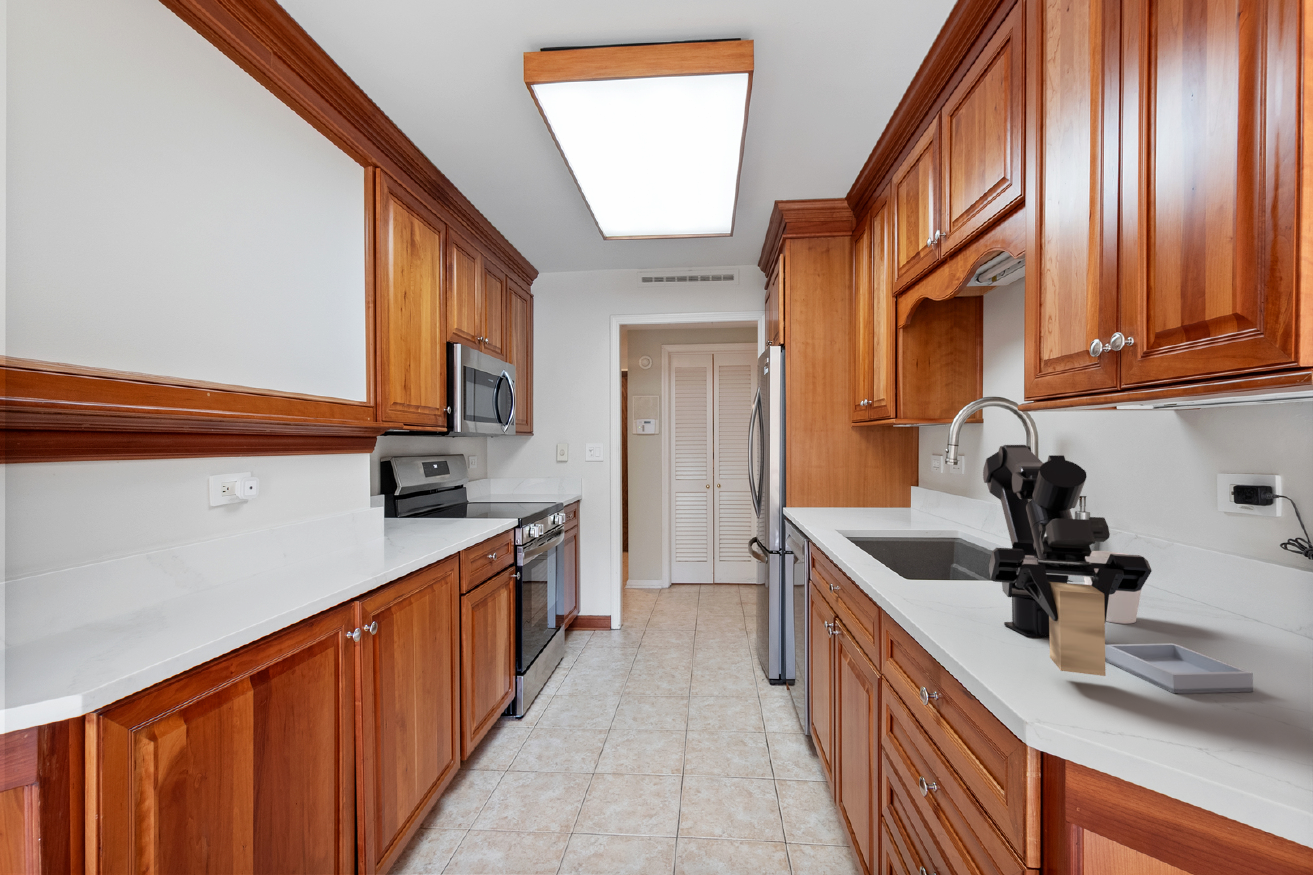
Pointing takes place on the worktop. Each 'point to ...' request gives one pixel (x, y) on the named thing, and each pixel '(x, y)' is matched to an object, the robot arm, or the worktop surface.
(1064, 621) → the oak block
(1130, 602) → the cup
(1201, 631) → the worktop surface
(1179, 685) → the dish
